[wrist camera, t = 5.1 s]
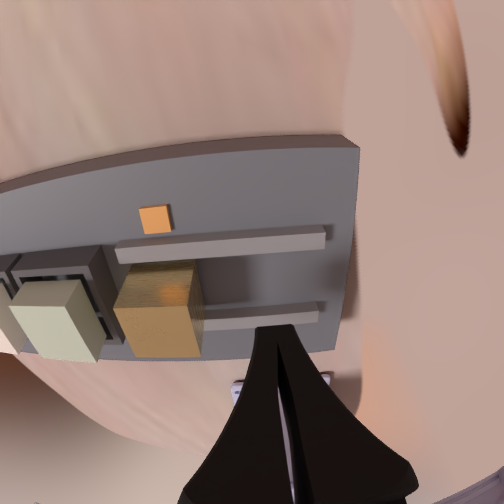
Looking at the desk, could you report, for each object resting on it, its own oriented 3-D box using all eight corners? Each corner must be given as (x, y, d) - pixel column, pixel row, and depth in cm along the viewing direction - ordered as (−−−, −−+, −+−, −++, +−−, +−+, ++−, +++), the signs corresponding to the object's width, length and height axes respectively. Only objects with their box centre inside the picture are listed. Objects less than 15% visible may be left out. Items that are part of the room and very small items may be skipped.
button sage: (106, 335, 14) (97, 363, 13) (53, 333, 14) (41, 357, 13) (80, 279, 12) (64, 306, 11) (24, 281, 12) (8, 305, 11)
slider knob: (205, 309, 15) (201, 357, 13) (148, 312, 15) (135, 357, 13) (195, 259, 13) (186, 305, 11) (132, 263, 13) (112, 308, 11)
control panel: (325, 321, 20) (340, 371, 16) (30, 329, 20) (10, 367, 16) (341, 134, 13) (376, 159, 10) (-33, 194, 13) (-71, 225, 10)
